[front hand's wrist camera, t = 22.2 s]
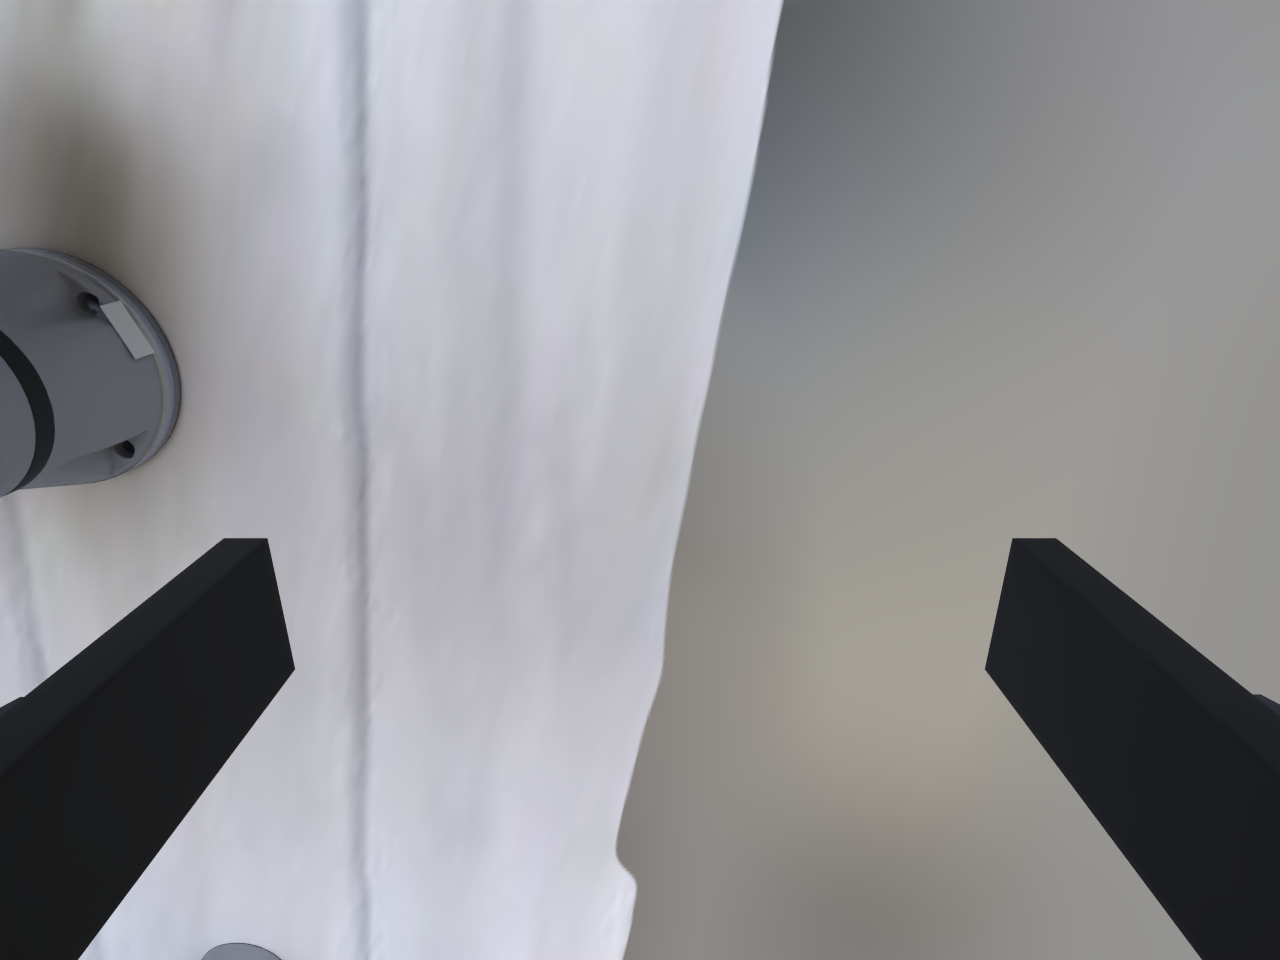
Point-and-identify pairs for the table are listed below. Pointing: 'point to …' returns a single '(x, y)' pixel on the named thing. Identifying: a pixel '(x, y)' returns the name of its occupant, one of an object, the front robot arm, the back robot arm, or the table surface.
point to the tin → (239, 953)
